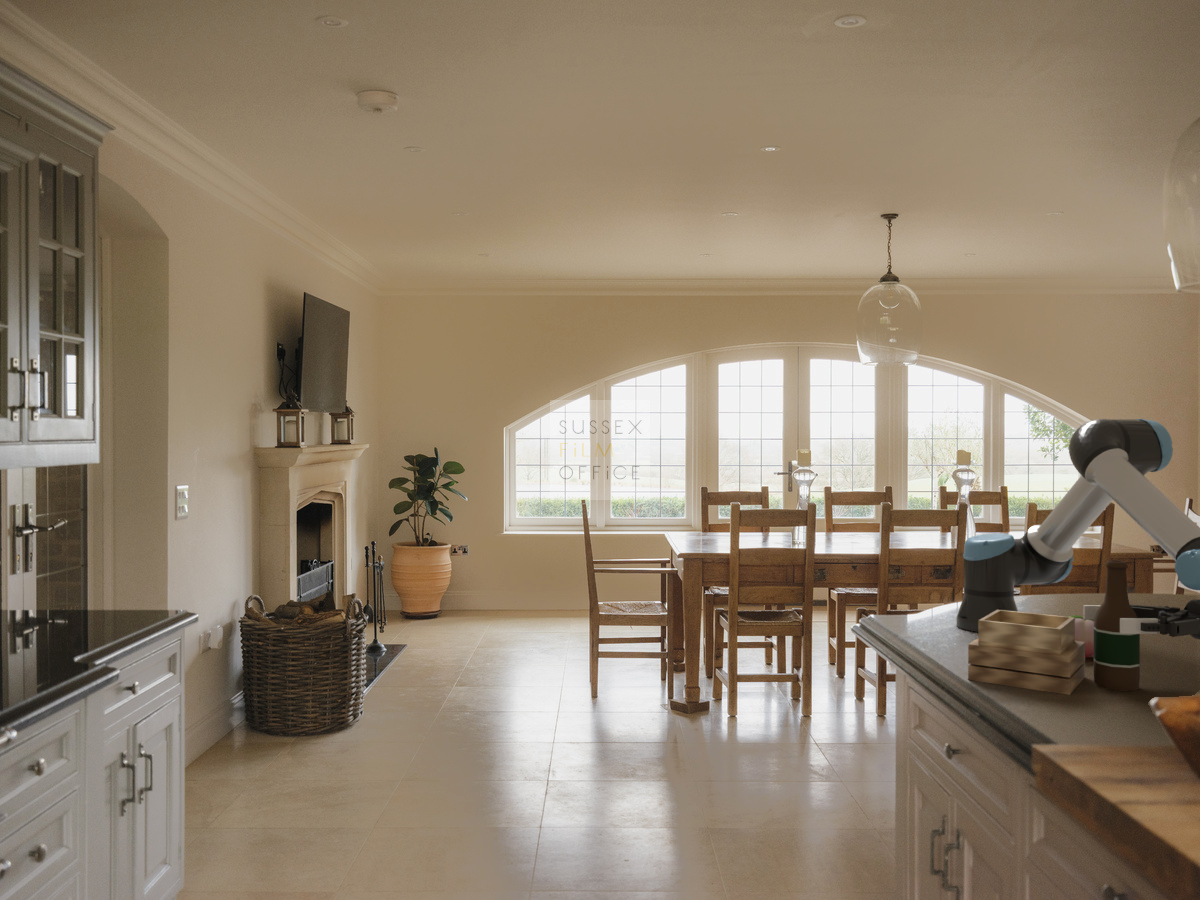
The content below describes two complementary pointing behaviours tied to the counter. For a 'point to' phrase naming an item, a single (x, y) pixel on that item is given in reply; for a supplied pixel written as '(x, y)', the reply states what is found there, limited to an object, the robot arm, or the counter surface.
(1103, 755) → the counter surface
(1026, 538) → the robot arm
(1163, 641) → the counter surface
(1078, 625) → the decorative fruit
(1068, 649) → the base crate
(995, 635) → the top crate
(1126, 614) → the beer bottle
